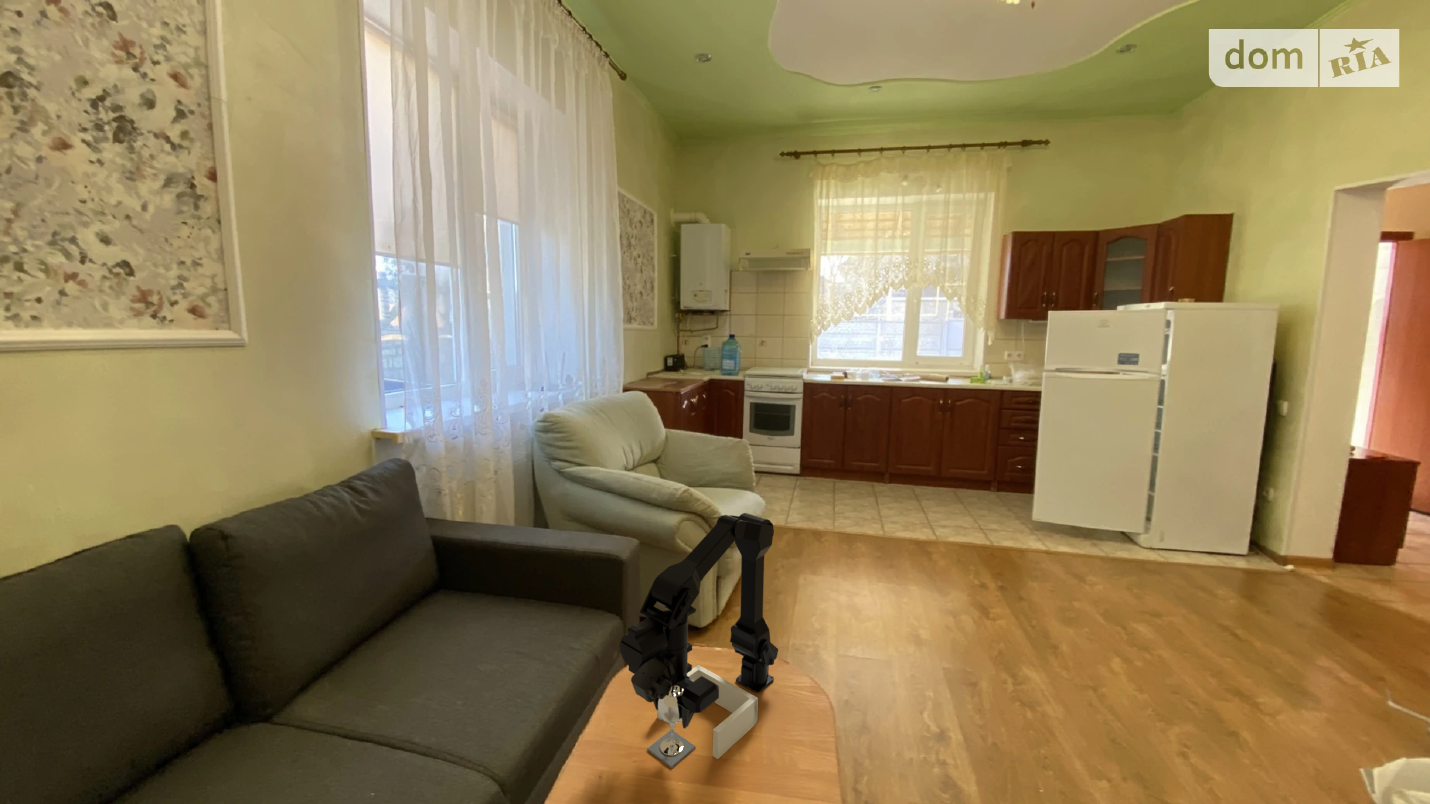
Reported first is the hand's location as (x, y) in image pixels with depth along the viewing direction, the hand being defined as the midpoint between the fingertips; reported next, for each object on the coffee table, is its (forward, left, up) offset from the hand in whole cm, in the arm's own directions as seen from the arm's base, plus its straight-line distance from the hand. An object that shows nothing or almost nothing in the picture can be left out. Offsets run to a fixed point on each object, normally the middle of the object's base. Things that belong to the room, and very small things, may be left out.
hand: (671, 717), depth 102 cm
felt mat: (0, 0, -7) cm, 7 cm away
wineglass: (0, 0, -6) cm, 6 cm away
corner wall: (-10, 0, -7) cm, 12 cm away
